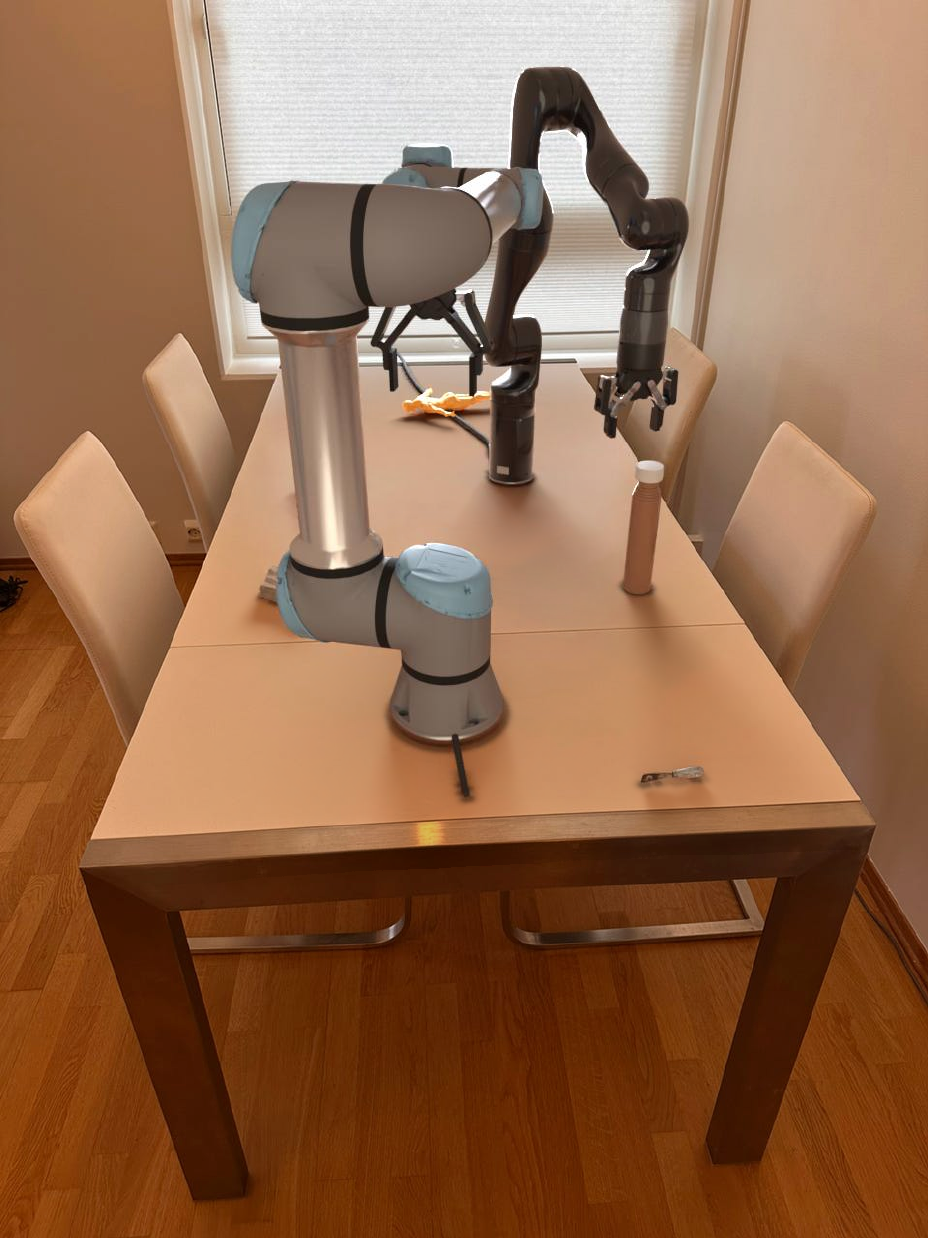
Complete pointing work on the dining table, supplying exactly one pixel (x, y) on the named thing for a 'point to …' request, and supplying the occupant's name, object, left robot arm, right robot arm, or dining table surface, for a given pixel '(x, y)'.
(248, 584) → the dining table surface
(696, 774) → the putty knife
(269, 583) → the stone
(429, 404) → the human figure
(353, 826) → the dining table surface
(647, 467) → the cap
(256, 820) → the dining table surface
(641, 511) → the bottle
